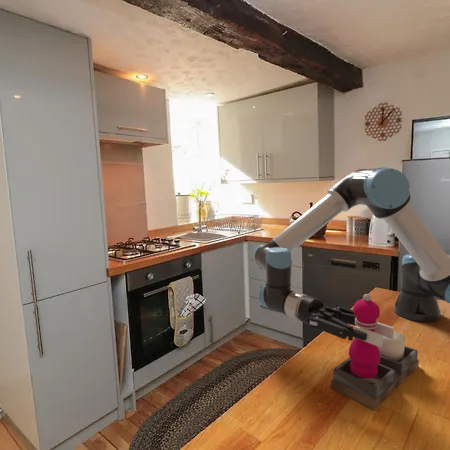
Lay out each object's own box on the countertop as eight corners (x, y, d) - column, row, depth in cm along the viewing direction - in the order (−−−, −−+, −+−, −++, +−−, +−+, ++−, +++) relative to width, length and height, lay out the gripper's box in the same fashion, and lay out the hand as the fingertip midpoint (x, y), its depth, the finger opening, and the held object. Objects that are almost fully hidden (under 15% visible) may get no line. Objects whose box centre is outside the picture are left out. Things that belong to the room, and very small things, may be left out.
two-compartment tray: (378, 351, 100) (379, 335, 99) (418, 366, 91) (419, 349, 91) (330, 387, 83) (331, 369, 82) (373, 410, 75) (374, 390, 74)
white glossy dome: (384, 350, 96) (386, 327, 95) (408, 361, 90) (410, 337, 89) (369, 357, 93) (371, 334, 91) (393, 369, 87) (395, 344, 86)
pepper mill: (383, 381, 78) (387, 300, 75) (350, 378, 79) (353, 298, 77) (375, 364, 85) (379, 289, 82) (346, 362, 86) (348, 288, 84)
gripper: (322, 312, 100) (403, 339, 83) (283, 330, 89) (368, 367, 71) (323, 288, 99) (404, 311, 82) (284, 303, 88) (369, 334, 70)
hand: (387, 337), depth 77 cm, fingers closed on pepper mill, 5 cm apart
